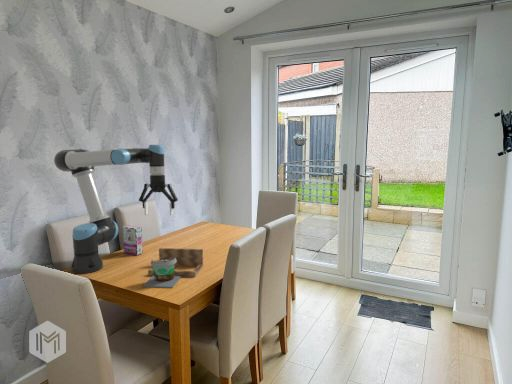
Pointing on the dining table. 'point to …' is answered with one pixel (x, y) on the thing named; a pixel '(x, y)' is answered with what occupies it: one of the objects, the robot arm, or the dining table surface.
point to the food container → (164, 269)
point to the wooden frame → (182, 259)
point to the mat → (167, 284)
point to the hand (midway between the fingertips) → (158, 214)
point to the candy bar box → (132, 240)
